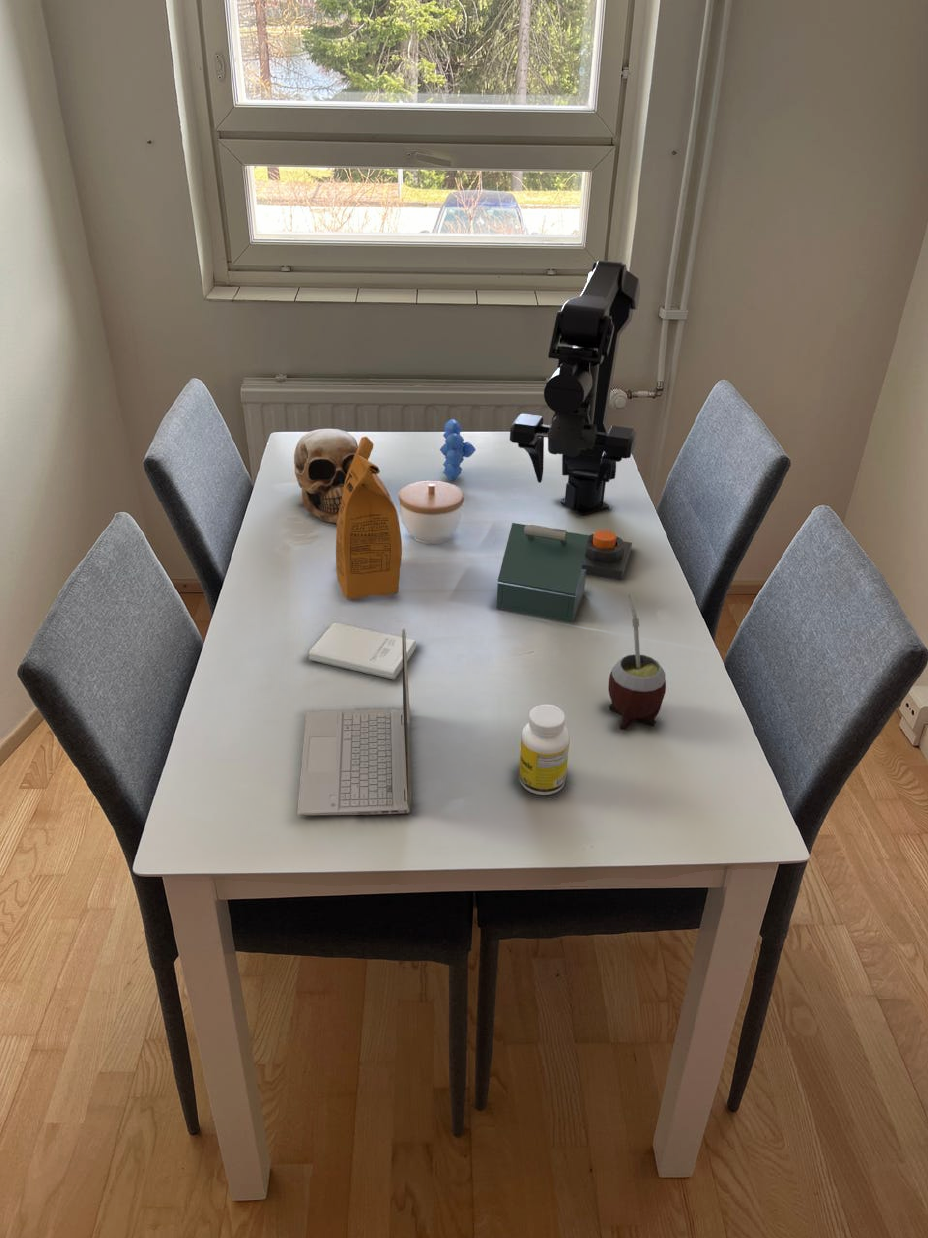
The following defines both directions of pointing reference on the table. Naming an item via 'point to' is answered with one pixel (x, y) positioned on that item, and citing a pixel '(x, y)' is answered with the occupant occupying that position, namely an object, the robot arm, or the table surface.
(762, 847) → the table surface
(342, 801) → the laptop
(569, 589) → the lid
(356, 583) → the coffee package
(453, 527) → the trinket box
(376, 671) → the hard drive
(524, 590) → the dark green toolbox
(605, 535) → the button
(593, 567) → the button block
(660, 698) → the mate gourd
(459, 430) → the grapes
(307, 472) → the skull
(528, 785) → the supplement bottle
